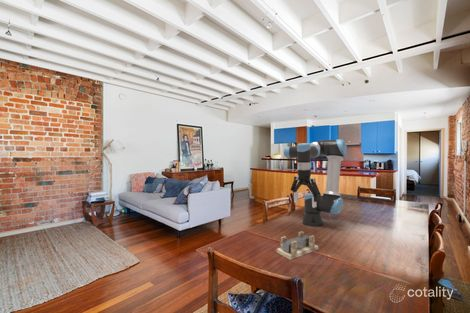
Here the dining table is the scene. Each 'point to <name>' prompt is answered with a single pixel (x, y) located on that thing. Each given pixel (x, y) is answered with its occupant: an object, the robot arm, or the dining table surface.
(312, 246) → the rack
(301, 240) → the bar
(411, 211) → the dining table surface
